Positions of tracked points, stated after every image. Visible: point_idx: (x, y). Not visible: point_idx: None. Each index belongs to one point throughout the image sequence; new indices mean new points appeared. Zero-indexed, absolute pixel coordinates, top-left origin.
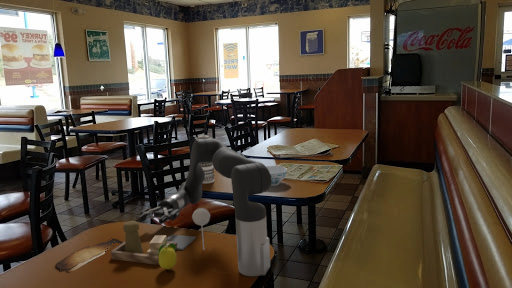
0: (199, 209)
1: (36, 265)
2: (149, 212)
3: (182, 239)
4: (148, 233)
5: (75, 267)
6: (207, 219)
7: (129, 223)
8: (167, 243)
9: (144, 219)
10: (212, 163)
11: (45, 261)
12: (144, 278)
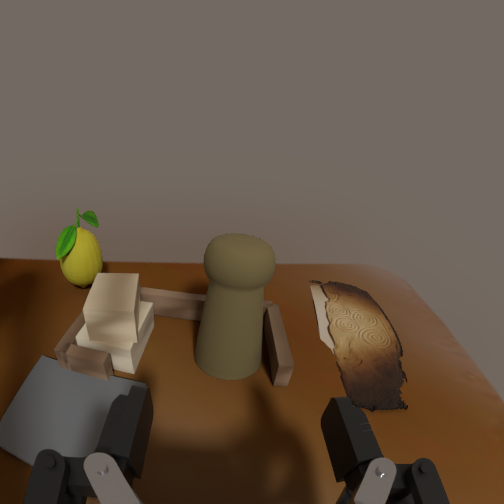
0: None
1: (393, 291)
2: (350, 500)
3: (42, 427)
4: None
5: (318, 291)
6: None
7: (239, 234)
8: (91, 350)
9: (333, 460)
10: None
11: (398, 299)
12: (132, 270)
